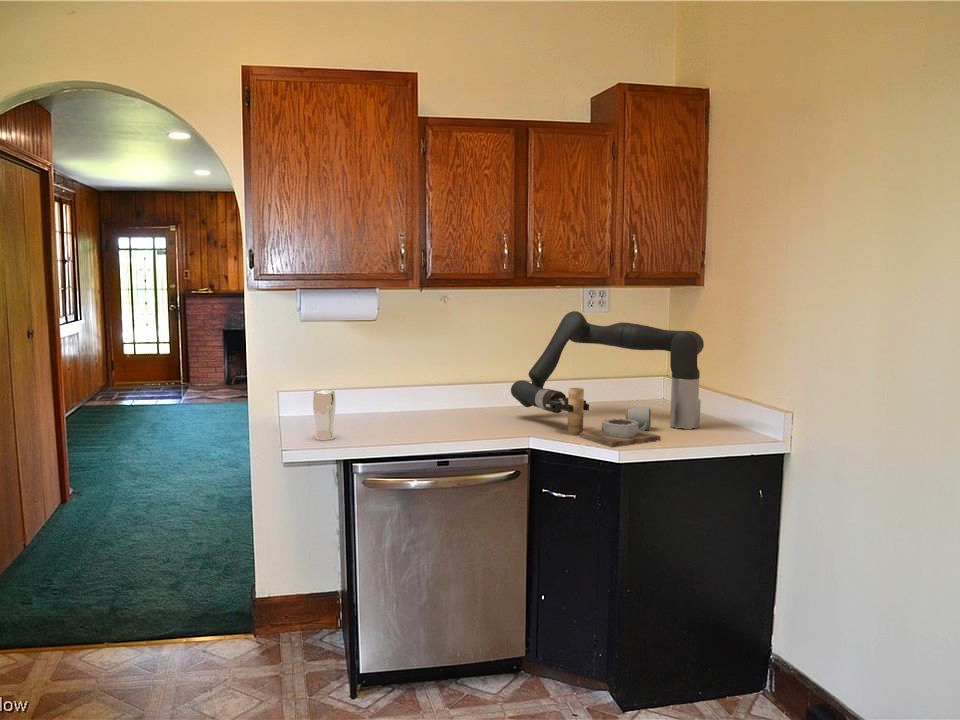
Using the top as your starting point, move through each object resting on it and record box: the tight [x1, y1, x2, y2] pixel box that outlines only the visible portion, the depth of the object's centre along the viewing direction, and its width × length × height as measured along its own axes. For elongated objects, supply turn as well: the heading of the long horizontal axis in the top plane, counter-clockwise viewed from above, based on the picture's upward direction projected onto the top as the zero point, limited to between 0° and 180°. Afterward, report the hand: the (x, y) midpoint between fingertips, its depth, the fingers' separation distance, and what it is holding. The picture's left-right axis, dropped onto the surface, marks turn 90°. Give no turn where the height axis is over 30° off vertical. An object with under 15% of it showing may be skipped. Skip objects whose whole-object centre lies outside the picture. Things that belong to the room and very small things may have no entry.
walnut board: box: [579, 429, 661, 448], centre depth 255 cm, size 20×16×2 cm
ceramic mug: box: [625, 406, 652, 431], centre depth 269 cm, size 11×8×8 cm
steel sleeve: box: [601, 418, 639, 438], centre depth 254 cm, size 11×11×4 cm
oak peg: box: [567, 387, 585, 436], centre depth 261 cm, size 5×5×15 cm
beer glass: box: [312, 389, 336, 441], centre depth 252 cm, size 7×7×15 cm
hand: (580, 408), depth 259 cm, fingers open, 5 cm apart
